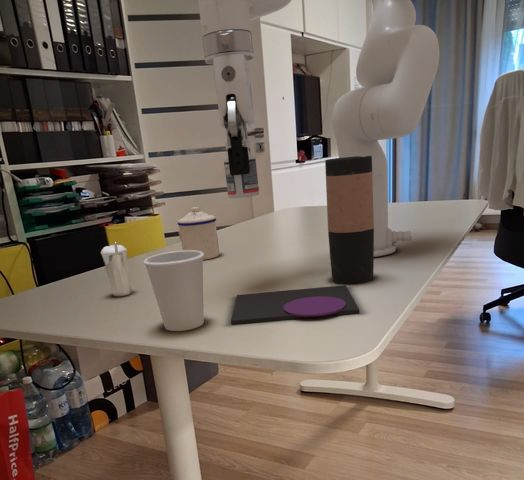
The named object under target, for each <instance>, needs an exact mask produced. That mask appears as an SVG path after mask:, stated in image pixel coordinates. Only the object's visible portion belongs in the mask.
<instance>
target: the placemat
mask: <svg viewBox="0 0 524 480" xmlns="http://www.w3.org/2000/svg"><path fill="white" fill-rule="evenodd" d="M352 314H355V315H356V314H360V308H359V307H358V305H357V303H356V301H355V299H354V298H353V295H352V294H351V292H350V290H349V289H348V287H347V284H342V285H330V286H319V287H310V288H309V287H308V288H298V289H297V288H296V289H290V290H289V289H286V290H277V291H276V290H275V291H264V292H253V293H244V294H236V297H235V301H234V305H233V310H232V315H231V319H230V323H231V324H230V325H241V324H252V323H262V322H263V323H265V322H275V321H286V320H288V321H289V320H298V319H299V320H300V319H309V318H320V317H331V316H344V315H352Z"/></svg>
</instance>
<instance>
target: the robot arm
mask: <svg viewBox="0 0 524 480" xmlns="http://www.w3.org/2000/svg"><path fill="white" fill-rule="evenodd" d="M291 2H292V0H197V3H198V10H199V19H200V27H201V35H202V44H203V45H202V46H203V52H204V54H203V55H204V61H205V64H207V65H211V66H213V67H212V68H213V75H214V83H215V85H214V86H215V92H216V101H217V107H218V113H219V120H220V124H221V127H222V128H223V129H225V130H226V141H227V143H228V149H227V151H226V152H227V155H228V160H229V169H230V174H231V175H242V174H249V173H250V166H249V156H248V147H246V143H245V139H249V137H248V136H249V135H248V128H247V125H248V127H249V128H251V129H252V128H254V127H255V126H256V123H255V122H256V121H255V114H254V113H255V112H254V103H253V93H252V92H253V91H252V84H251V83H252V82H251V75H250V70H249V69H250V68H249V63H248V61H251V60H253V59H254V58H255V56H254V46H253V34H252V23H251V22H253V21H255V20H257V19H259V18H262V17H264V16H268V15H271V14H273V13H276V12H278V11H281V10H283V9H284V8H285V7H286V6H288V5H289V4H290V3H291ZM371 4H372V16H371V19H370V24H369V26H368V29H367V31H366V35H365V37H364V41H363V44H362V47H361V49H360V51H359V55H358V58H357V63H356V68H355V75H356V80H357V82H358V84H359V85H360V87H361V88H356V89H353V90H350V91H348V92H346V93H344V94H342V95H341V96H340V97H339V98H338V99H337V101H336V102H335V103H334V106H333V108H332V112H331V123H332V128H333V134H334V137H335V141H336V147H337V151H338V152H337V153H338V158H344V157H354V156H361V157H365V156H372V179H373V213H374V258H378V257H382V256H387V255H391V254H393V253H395V252H396V250H397V245H396V244H397V242H407V241H412V238H413V236H412V231H411V230H407V231H406V230H405V231H396V230H394V231H393V230H392V229H390V228H389V201H388V200H389V195H388V194H389V191H388V190H389V188H388V187H389V185H388V180H389V179H388V175H389V174H388V173H389V172H388V161H387V160H388V159H387V156H386V153H385V152H384V150H383V148H382V146H381V145H380V142H379V141H381V140H392V139H399V138H400V139H401V138H405V137H407V136H409V135H410V134H412V133H413V132H414V131H415V130H416V128H417V127H418V125H419V123H420V120H421V119H422V116H423V113H424V110H425V107H426V104H427V101H428V99H429V96H430V93H431V90H432V86H433V84H434V81H435V78H436V75H437V70H438V67H439V63H440V44H439V39H438V37H437V35H436V33H435V32H434V30H433V29H432V28H430V27H429V26H428V25H424V24H416V21H417V11H416V7H415V5H414V3H413V2H412V0H371ZM249 151H250V153H252V151H251V147H250V148H249Z"/></svg>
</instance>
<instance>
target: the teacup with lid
mask: <svg viewBox="0 0 524 480" xmlns="http://www.w3.org/2000/svg"><path fill="white" fill-rule="evenodd" d="M200 209H201V208H200V207H199V206H193V207H191V208H190V212H188V213H187V214H185V215H184V217H181V218H179V219H178V220H177V225H178V228H179V229H178V236H179V240H180V242H181V249H182V251H184V250H196V251H201V252H203V253H204V256H203V261H205V260H210V259H214V258H217V257H219V256H220V247H219V238H218V232H217V231H218V230H217V222H216V221H217V218H216V216H215V215H212V214H209V213H207V212H204V211H201V210H200Z"/></svg>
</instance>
